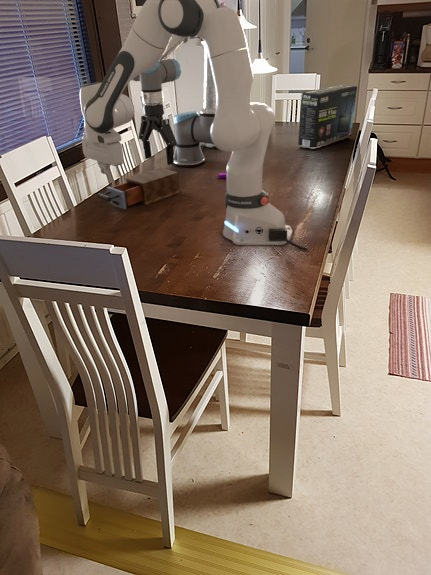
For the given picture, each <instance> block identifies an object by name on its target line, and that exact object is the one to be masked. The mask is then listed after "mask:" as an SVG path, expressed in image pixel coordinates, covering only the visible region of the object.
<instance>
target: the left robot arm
mask: <svg viewBox="0 0 431 575" xmlns="http://www.w3.org/2000/svg"><path fill="white" fill-rule="evenodd" d="M220 7H227V8H229V7H228V6H226V5H220ZM195 39H200V44H201V45H202V46H203V49H204V50H203V87H202V88H203V90H202V91H203V92H202V94H203V95H202V109H200V110H199V111H196V110H191V111H185V112H181V113H176V114H175V115H174V116H173V124H172V126H173V129H172V127H171V122H170V119H169V118H165V119H164V114H165V104H164V103H163V102H164V93H163V84H166V83H170V82H171V83H172V82H174V81H176V80H178V79H179V78H180V77H181V75H182V66H181V64H180V62H179V61H178V60H177V59H176V58H175V59H174V58H168V57H170V56H171V54H173V53H174V52H175V51H176V50H177V49H178V48H179V47H180V46H181V45H182V44H186V43H188V41H190V40H195ZM131 81H133V82H140V88H141V97H142V103H143V106H142V108H143V115H141V116H140V126H139V132H138V140H141V142H142V148H143V151H144V159H145V160H148V159H151V158H152V149H151V141H150V137H151V135H152V133H153V131H156V132H157V133H159V135H160V137H161V138H162V140H163V142H164V144H165V146H166V147H165V154H166V164H167V166H170V165H173V166H176V167H179V168H194V167H199V166H202V165H204V164H205V163H206V162H205V155H204V153H203V151H202V150H204V149H205V148H206V147H207V146H205V145H204V146H200V143H210V144H214V143H213V141H212V139H211V134H210V130H211V125H212V123H213V121H214V117H215V108H216V94H215V85H214V80H213V76H212V71H211V67H210V62H209V58H208V53H207V49H206V45H205V43H204V41H203V40H202V38H200V37H199V36H197V37H188V36H176V35H173V36H172V38H171V40H170V42H169V44H168V46H167V48H166V50H165V52H164V54H163V56H162V58H161V59H160V60H159V62H158V63H157V64H156V65H155V66H154V67H153V68H151V69H149V70H147V71H145V72H143V73H141V74H140V75H138V76H136V77H135V78H133V79H132V80H131ZM174 147H175V149H174Z"/></svg>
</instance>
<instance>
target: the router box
mask: <svg viewBox="0 0 431 575" xmlns="http://www.w3.org/2000/svg"><path fill="white" fill-rule="evenodd" d="M357 93H358V86H356V85H350V84H339V85H338V84H337V85H334V86H328V87H324V88H318V89H314V90H309V91H304V92H301V93H300V109H299V110H300V111H299V124H298V137H297V146H298V145H302V146H307V147H317V146H320V145H323V144H325V143H328V142H331V141H333V140H336V139H338V138H341V137H344V136H347V135H351V136H352V133H353V132H352V131H353V125H354V115H355V109H356V99H357ZM311 151H313V150H312V149H311Z"/></svg>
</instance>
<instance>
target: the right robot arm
mask: <svg viewBox="0 0 431 575" xmlns="http://www.w3.org/2000/svg"><path fill="white" fill-rule="evenodd" d="M220 4H221V3H220V2H219V1H218V0H145V2H144V3H143V4H142V7H141V8H140V9H139V11H138V13H137V15H136V16H135V20H134V21H133V23H132V26H131V28H130V31H129V33H128V35H127V37H126V39H125V42H124V43H123V44H122V46H121V49H120V50H119V52H118V54H117V55H116V57H115V58H114V59H113V61H112V63H111V64H110V66H109V68H108V70H107V72H106V74H105V76H104V77H103V80H102V82H100V81H96V82H92V83H87V84H84V85H82V86H81V87H80V89H79V101H80V102H79V103H80V110H81V114H82V116H83V120H84V122H83V126H84V132H83V133H82V138H81V144H82V153H83V155H84V158H86V159H90V160H94V161H96V163H97V166H98V167H99V169H100V173H101V174H103V175H106V176H108V175H110V173H111V171H110V167H111V166H113V167H118V166H122V165H123V164H124V161H125V159H124V157H125V156H124V151H123V145H122V143H121V141H122V135H121V134H120V133H119V132H117V131H116V130H115V129H116V128H118V127H122V126H124V125H126V124H128V123H129V122H131V121H132V120H133V118H134V117H135V105H134V103H133V101H132V99H131V98H130V97H129V96H128V95H127V94H124V91H125V89H126V87H127V86H128V84H129V83H131V81H132V79H133V78H135V77H136V76H138V75H140V74H141V73H143V72H145V71H147V70H149V69H151V68H153V67H154V66H155V65H156V64H157V63H158V62H159V60H160V59H161V58H162V56H163V54H164V52H165V50H166V48H167V46H168V44H169V42H170V40H171V38H172V36H173V35H176V36H188V37H197V36H199V37H200V38H199V39H201V38H202V40H203V41H204V43H205V45H206V49H207V53H208V58H209V62H210V67H211V71H212V76H213V80H214V85H215V94H216V108H215V117H214V121H213V123H212V125H211V130H210V134H211V139H212V141H213V143H214V145H215V146H216V147H217V148H218V150H220V151H222V152H224V153H225V152H226V153H227V152H229V153H231V155H230V157H229V160H228V161H227V164H226V168H225V173H226V178H225V179H226V180H225V183H226V190H225V194H224V205H225V209H226V210H225V218H224V219H225V220H224V226H223V229H222V235H223V237H225V239H228V240H230V241H232V243H233V244H234V245H236V246H283V245H286V244H289V245H292V246H293V247H295V248H297V249H300V250H303V251H308V247H305V246H301V245H299V244H296V243H294V242H293V241H291V239H292V237H293V228H292V227H291V225H288V224H286V219H285V215H284V213H283V212H282V211H280V210H279V209H278V208H277V207H276V206H275V205H272V204H271V203H270V202H269V194H270V192H269V191H267V192H266V191H265V190H263V175H264V174H263V171H264V170H263V169H264V164H265V163H264V162H265V158H266V153H267V148H268V144H269V140H270V137H271V134H272V132H273V130H274V128H275V125H276V116H275V115H276V114H275V113H274V111H273V108H271V107H270V106H269V105H268V104H265V103H261V102H251V93H252V92H251V91H252V86H253V84H254V80H255V79H254V78H255V76H254V72H253V71H254V70H253V66H252V62H251V57H250V52H249V46H248V41H247V38H246V34H245V31H244V28H243V25H242V22H241V19H240V17H239V14H238V13H237V11H235V10H234V9H233V8H231V7H228V6H226V7H220V6H221V5H220ZM227 7H228V8H227ZM216 147H215V148H216ZM217 148H216V149H217Z"/></svg>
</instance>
